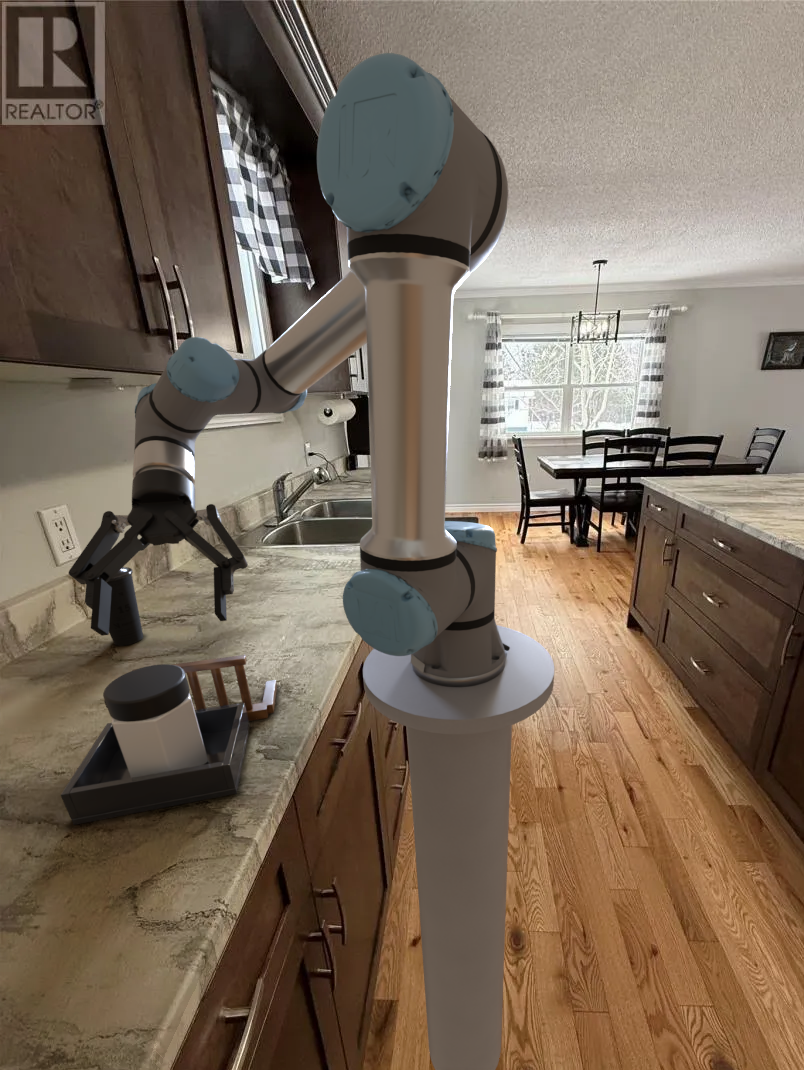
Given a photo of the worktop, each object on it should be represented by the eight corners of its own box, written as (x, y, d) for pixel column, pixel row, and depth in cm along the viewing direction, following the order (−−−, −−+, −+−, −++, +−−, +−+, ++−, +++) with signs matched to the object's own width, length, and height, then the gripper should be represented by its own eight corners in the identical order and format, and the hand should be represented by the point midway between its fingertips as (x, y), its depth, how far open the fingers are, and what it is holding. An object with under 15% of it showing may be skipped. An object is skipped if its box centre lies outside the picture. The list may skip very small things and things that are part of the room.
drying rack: (277, 687, 76) (266, 632, 72) (273, 717, 69) (261, 657, 65) (148, 707, 72) (130, 649, 68) (129, 740, 65) (108, 678, 61)
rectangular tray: (250, 727, 67) (244, 702, 65) (237, 793, 56) (229, 764, 54) (116, 750, 63) (106, 723, 62) (73, 825, 52) (60, 795, 50)
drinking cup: (95, 645, 91) (60, 543, 83) (133, 628, 98) (104, 532, 90) (123, 652, 88) (88, 547, 81) (160, 634, 95) (132, 536, 87)
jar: (181, 734, 65) (158, 656, 60) (224, 751, 61) (203, 670, 57) (113, 779, 57) (81, 693, 53) (158, 800, 54) (128, 711, 49)
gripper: (263, 493, 73) (272, 621, 66) (77, 505, 68) (63, 647, 60) (253, 461, 67) (262, 600, 59) (45, 471, 61) (25, 627, 53)
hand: (161, 624), depth 60 cm, fingers open, 13 cm apart
